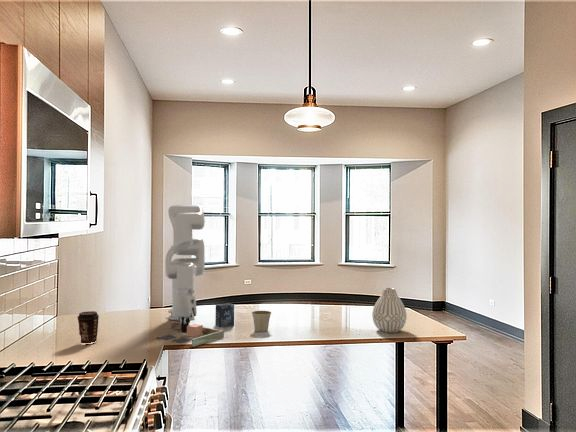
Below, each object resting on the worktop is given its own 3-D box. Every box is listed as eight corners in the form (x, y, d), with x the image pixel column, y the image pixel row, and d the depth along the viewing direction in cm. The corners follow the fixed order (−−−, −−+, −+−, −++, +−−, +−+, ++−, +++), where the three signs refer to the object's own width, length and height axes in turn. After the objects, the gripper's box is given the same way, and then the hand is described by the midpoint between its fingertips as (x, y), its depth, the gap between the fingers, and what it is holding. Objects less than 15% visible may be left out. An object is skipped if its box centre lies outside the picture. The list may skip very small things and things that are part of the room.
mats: (156, 338, 223) (156, 337, 223) (168, 335, 229) (168, 334, 229) (180, 343, 215) (180, 342, 215) (192, 339, 220) (192, 339, 220)
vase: (412, 334, 232) (412, 290, 232) (378, 335, 229) (379, 291, 229) (398, 326, 248) (399, 285, 248) (367, 327, 245) (367, 286, 245)
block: (186, 335, 228) (186, 325, 227) (194, 333, 232) (194, 323, 232) (195, 337, 225) (195, 327, 225) (202, 334, 229) (202, 325, 229)
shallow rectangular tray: (140, 335, 227) (140, 329, 227) (171, 327, 243) (171, 321, 243) (193, 346, 209) (193, 339, 209) (223, 337, 225) (223, 330, 225)
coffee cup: (81, 340, 218) (81, 310, 218) (101, 340, 219) (101, 310, 219) (74, 346, 210) (74, 314, 210) (95, 345, 210) (95, 314, 210)
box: (220, 327, 244) (220, 306, 244) (215, 325, 248) (215, 304, 248) (234, 325, 248) (234, 304, 248) (229, 323, 253) (229, 302, 253)
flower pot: (274, 329, 241) (274, 311, 241) (267, 333, 232) (267, 315, 232) (256, 327, 244) (256, 309, 244) (248, 332, 235) (248, 313, 235)
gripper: (202, 292, 229) (202, 332, 229) (179, 289, 237) (179, 328, 237) (190, 294, 222) (190, 336, 223) (167, 291, 231) (167, 331, 231)
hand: (184, 331), depth 230 cm, fingers closed
